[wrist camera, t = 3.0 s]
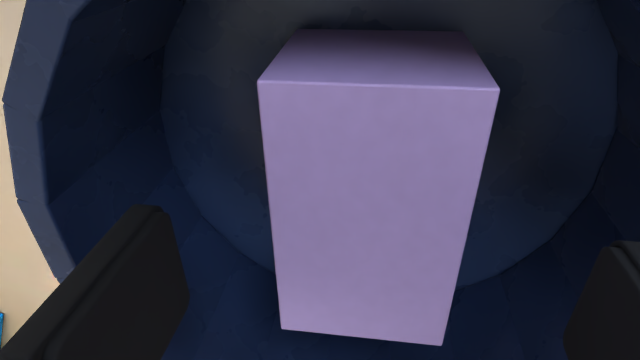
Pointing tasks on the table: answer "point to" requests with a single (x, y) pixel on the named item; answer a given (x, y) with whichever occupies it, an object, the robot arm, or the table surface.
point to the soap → (373, 176)
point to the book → (0, 323)
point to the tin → (249, 167)
